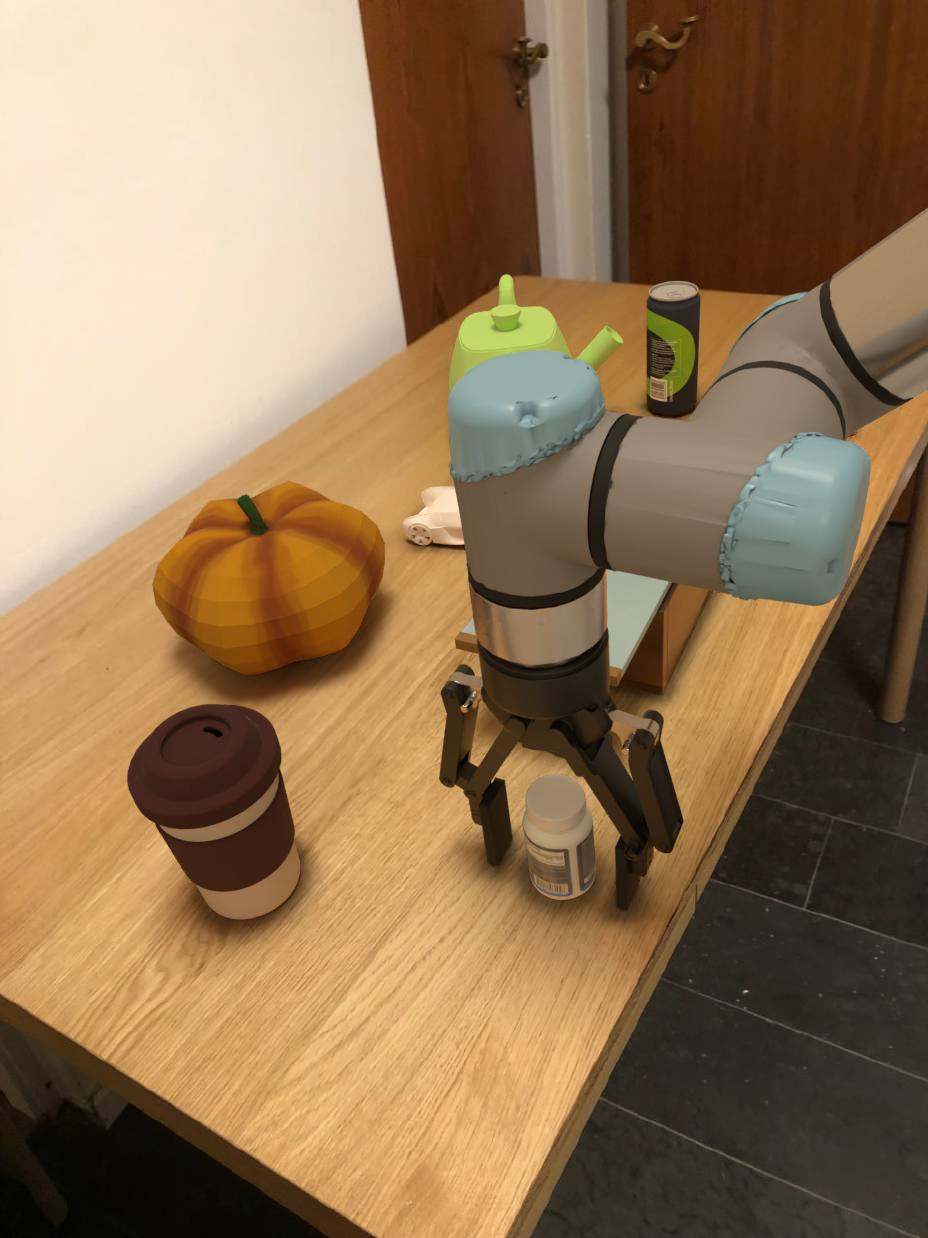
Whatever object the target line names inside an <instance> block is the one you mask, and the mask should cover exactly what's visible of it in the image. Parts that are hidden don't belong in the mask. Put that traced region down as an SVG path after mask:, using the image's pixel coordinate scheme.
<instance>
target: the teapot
mask: <svg viewBox="0 0 928 1238" xmlns="http://www.w3.org/2000/svg"><path fill="white" fill-rule="evenodd" d="M623 344H624V340H623V338H622V337H621V335H620V334H619V333H618V332H617V331H616V330H614V329H613V328H612V327H610V326H608V325H605V326H604V327H603V328H602V329H601V330H600V331H599V332H598V333H597V335H596V336H595V337H594V338H593V339H592V340H591V341H590V342H589V344H588V345H587V346H586V347H585V348H584V349H583V350H582V351H581V353H580V354H579V355H577V357H575V359H581V360H583V361H585V362H587V363H588V364H590V365H591V366H592V367H593V369H594V370H595V371H598V369H599V368H600V367H601V366H602V365H603V364H604V363H605V362H606V361H607V360H608V359H609V358H610V357H611V356H612V355H613V354H614V353H615V352H616V351H617V350H618V349H619V348H620V347H621V346H622V345H623ZM523 351H554V352H561V353H566V354H567V355H569V356H570V357H571V358H572V359H573V357H572V354H571V350H570V349H569V347H568V344H567V342H566V339H565V337H564V336H563V333H562V331H561V329H560V327H559V324H558V323H557V321H556V318H555V317H554V315H553V314H552V312H551V311H550V310H549V309H547V308H545V307H544V306H540V305H537V306H536V305H535V306H534V305H533V306H520V305H518V303H517V299H516V295H515V286H514V280H513V277H512V276H511V275H510V274H503V275H502V276H500V278H499V282H498V304H497V306H495V307H493V308H491V309H490V310H485V311H484V310H483V311H477V312H473V313H471V314H470V315H468V316H466V317H465V319H464V320H462V323H461V325H460V327H459V330H458V333H457V337H456V340H455V344H454V348H453V351H452V356H451V361H450V365H449V373H448V385H447V387H448V388H447V389H448V390H447V391H448V393H447V394H448V395H447V397H449V394H450V392H451V390H452V388H453V387H454V385H455V384H456V382H457V381H458V380H459V379H460V378H462V377H464V376H465V374H466V373H467V371H469V370H470V369H471V368H473V367H475V366H476V365H478V364H480V363H482V362H485V361H487V360H489V359H492V358H495V357H498V356H502V355H506V354H510V353H516V352H523Z"/></svg>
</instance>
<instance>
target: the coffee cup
mask: <svg viewBox="0 0 928 1238" xmlns="http://www.w3.org/2000/svg"><path fill="white" fill-rule="evenodd" d="M128 765H129V766H128V768H127V773H126V774H127V775H126V783H127V788H128V791H129V794H130V796H131V798H132V800H133V801H134V804H135V806H136V808H137V809H138V811H139V813H140V814H142V815H143V816H144V817H145V818H146V819H147V820H149V821H151V822H152V823H154V826H155V828H156V829H157V831H158V832H159V834H160V836H161V838H162V839H163V840H164V842H165V844H166V846H167V847H168V849H169V850H170V852H171V854H172V855H173V857H174V858H175V860H176V861H177V863H178V865H179V866H180V868H181V869H182V872H183V873H184V874H185V876H186V877H187V878H188V879H189V880H190V881H191V882H192V883H193V884H194V885H195V886H196V888H197V889H198V891H199V893H200V895H201V896H202V897H203V899H204V901H205V902H206V904H207V905H208V907H209V908H210V909H211V910H212V911H214V912H215V913H216V914H217V915H218V916H219V915H220V916H222V917H224V918H228V919H231V920H250V919H251V920H252V919H255V918H259V917H261V916H264V915H266V914H268V913H270V912H273V911H275V910H276V909H277V908H278V907H279V906H281V905H282V904H283V903H285V901H287V899H288V898H289V897H290V896H291V895H292V893H293V891H294V890H295V889H296V886H297V885H298V882H299V880H300V874H301V860H300V856H299V852H298V847H297V843H296V839H295V836H296V835H295V834H296V831H295V823H294V818H293V814H292V810H291V807H290V806H291V805H290V803H289V797H288V793H287V789H286V786H285V781H284V777H283V773H282V770H281V765H282V746H281V743H280V740H279V737H278V734H277V731H276V729H275V726H274V725H273V723H272V722H271V721H270V720H269V718H267V717H266V716H265V715H263V714H262V713H261V712H259V711H257V710H255V709H254V708H250V707H247V706H244V705H239V704H224V703H223V704H221V703H205V704H198V705H194V706H189V707H187V708H185V709H182V710H180V711H177V712H176V713H174V714H172V715H170V716H169V717H167V718H165V720H163V721H161V722H160V723H159V724H158V725H157V726H156V727H155V729H153V731H152V732H151V733H150V734H149V735H148V736H147V737H146V738H144V740H143V741H142V742H141V744H139V746H138V747H137V748H136V750H135V752H134V753H133V755H132V757H131V759H130V762H129V764H128Z"/></svg>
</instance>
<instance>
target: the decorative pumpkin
mask: <svg viewBox="0 0 928 1238" xmlns="http://www.w3.org/2000/svg"><path fill="white" fill-rule="evenodd" d="M385 563H386V543H385V541H384V538H383V535H382V533H381V532H380V529H379V526H378V525H377V524H376V523H375V522H374V521H373V520H372V519H371V518H370V517H369V516H367V515H366V513H365V512H363V511H361V510H360V509H358V508H356V507H354V506H351V505H348V504H345V503H342V502H338V501H334V500H332V499H330V498H328V497H327V496H325V495H323V493H321V492H319V491H317V490H315V489H312V488H310V487H308V486H306V485H303V484H300V483H298V482H294V481H291V480H288V481H285V482H283V483H280V484H278V485H275V486H273V487H271V488H269V489H267V490H264V491H263V492H260V493H258V494H257V495H254V496H253V497H251V496H250V495H248V494H247V493H246V494H242V495H241V496H239V497H235V498H234V497H233V498H223V499H215V500H214V499H213V500H209V501H208V502H207V503H206V504H205V505H204V506H203V508H202V509H201V510H200V511H199V513H197V515H196V516H195V517H194V518H193V520H192V521H191V522H190V523H189V525H188V527H187V529H186V530H185V533H184V534H183V536H182V538H179V540H178V541H177V542H176V543H175V544H174V545H173V546H172V547H171V548H170V549H169V550H168V551H167V552H166V554H164V556H163V557H162V558H161V560H160V561H159V562H158V564H157V567H156V570H155V574H154V577H153V580H152V584H151V585H152V591H153V598H154V603H155V606H156V607H157V608H158V610H159V612H160V613H161V615H162V616H163V618H164V619H165V621H166V622H167V623H168V625H169V626H170V627H171V628H172V630H173V631H174V633H176V634H177V635H178V636H179V637H181V638H182V639H184V640H185V641H187V642H188V643H190V644H191V645H193V646H194V647H196V648H198V649H199V650H201V651H203V652H204V653H206V655H208V656H210V657H211V658H212V659H214V660H215V661H216V662H218V663H220V664H221V665H222V666H224V667H226V668H228V669H231V670H232V671H235V672H238V673H239V674H242V675H245V676H246V675H249V676H251V675H254V676H255V675H261V674H264V673H268V672H272V671H275V670H278V669H281V668H283V667H285V666H288V665H290V664H293V663H295V662H298V661H304V660H305V661H306V660H310V659H316V658H323V657H324V656H329V655H332V654H335V653H338V652H340V651H341V650H343V649H344V648H346V647H347V646H348V645H349V644H350V642H351V641H352V639H353V638H354V637H355V635H356V634H357V632H358V631H359V629H360V627H361V626H362V622H363V620H364V618H365V615H366V613H367V610H368V608H369V606H370V605H371V603H372V601H373V600H374V598H375V596H376V595H377V592H378V589H379V587H380V585H381V582H382V580H383V578H384V571H385Z"/></svg>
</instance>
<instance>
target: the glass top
mask: <svg viewBox="0 0 928 1238" xmlns="http://www.w3.org/2000/svg"><path fill="white" fill-rule="evenodd" d="M606 574H607V607H608V619H607V627H608V633H609V660H610V685H609V686H612V687H614V688H615V687H616V688H617V687H618V686H619V685H618V684H619V682H620V680H621V678H622V676H623V675H624V673H625V671H626V669H627V667H628V665H629V663H630V661H631V659H632V658H633V656H634V654H635V652H636V650H637V648H638V646H639V644H640V642H641V640H642V639H643V637H644V635H645V633H646V631H647V629H648V627H649V625H650V623H651V622H652V620H653V618H654V616H655V614H656V612H657V610H658V608H659V606H660V605H661V603H662V601H663V599H664V597H665V595H666V593H667V591H668V589H669V588H670V586H671V584H672V582H668V581H664V580H659V579H654V578H649V577H644V576H640V575H635V574H630V573H625V572H620V571H612V570H607V569H606ZM454 644H455V649H456V650H459V651H460V650H461V651H465V652H468V653H473V654H477V655H479V653H478V646H477V636H476V634H475V628H474V620H473V616H472V617H471V619H470V620H469V621H468V622H467V623H466V625H465V626H464V628H463V629H462V630H461V631H459V633H458V634H457V635H456V636H455V637H454Z"/></svg>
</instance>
